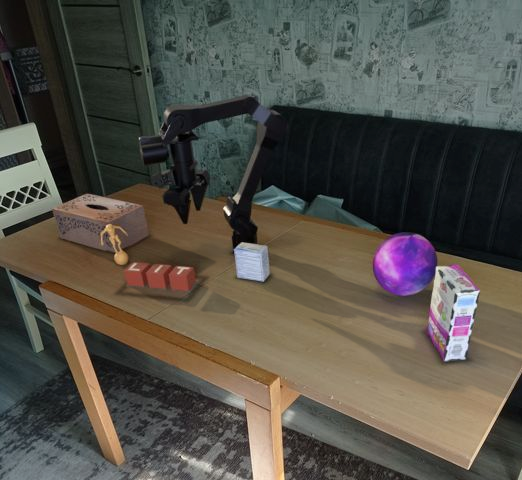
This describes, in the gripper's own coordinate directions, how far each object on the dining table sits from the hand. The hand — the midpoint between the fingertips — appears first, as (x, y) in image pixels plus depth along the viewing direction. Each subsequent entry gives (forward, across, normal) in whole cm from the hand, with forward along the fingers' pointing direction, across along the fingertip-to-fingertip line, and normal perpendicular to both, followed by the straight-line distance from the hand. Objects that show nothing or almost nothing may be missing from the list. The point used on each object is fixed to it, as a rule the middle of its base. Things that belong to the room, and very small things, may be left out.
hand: (191, 217), depth 146 cm
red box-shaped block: (+12, +16, -4) cm, 21 cm away
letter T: (+12, +16, +2) cm, 20 cm away
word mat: (+13, +16, -4) cm, 21 cm away
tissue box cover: (+13, -10, -37) cm, 41 cm away
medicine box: (+13, +7, +19) cm, 24 cm away
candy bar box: (+13, +29, +69) cm, 76 cm away
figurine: (+13, +6, -22) cm, 26 cm away
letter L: (+12, +16, -11) cm, 23 cm away
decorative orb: (+13, +8, +58) cm, 60 cm away
